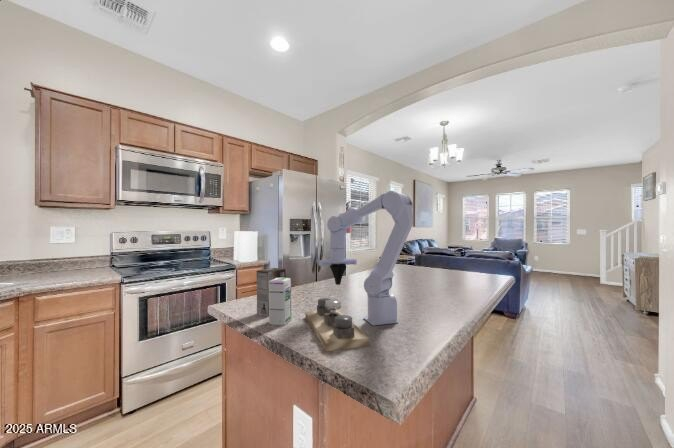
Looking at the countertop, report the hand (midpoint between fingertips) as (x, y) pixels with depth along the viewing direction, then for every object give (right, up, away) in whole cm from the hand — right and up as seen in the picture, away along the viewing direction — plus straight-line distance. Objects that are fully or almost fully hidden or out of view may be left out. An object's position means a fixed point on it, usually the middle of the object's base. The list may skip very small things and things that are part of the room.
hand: (337, 284), depth 103 cm
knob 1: (-5, -8, -9) cm, 13 cm away
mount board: (-2, -10, -19) cm, 21 cm away
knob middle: (-2, -6, -18) cm, 19 cm away
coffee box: (-25, -11, -1) cm, 27 cm away
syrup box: (-20, -10, -12) cm, 25 cm away
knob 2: (+1, -8, -28) cm, 29 cm away
